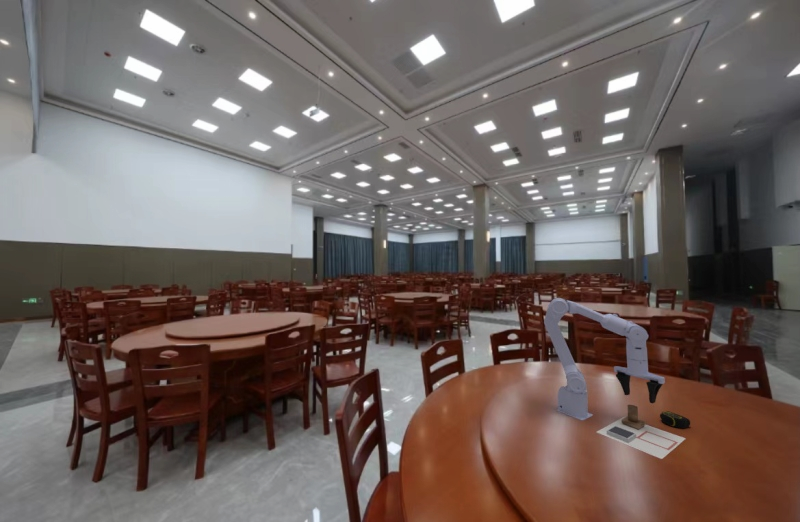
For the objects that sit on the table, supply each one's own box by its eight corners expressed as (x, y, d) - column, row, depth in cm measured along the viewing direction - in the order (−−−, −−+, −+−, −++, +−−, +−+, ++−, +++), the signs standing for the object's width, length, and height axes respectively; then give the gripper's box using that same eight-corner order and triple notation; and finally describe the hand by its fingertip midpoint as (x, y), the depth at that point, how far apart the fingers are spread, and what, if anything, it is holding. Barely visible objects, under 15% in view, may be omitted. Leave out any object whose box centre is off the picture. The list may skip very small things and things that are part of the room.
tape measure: (692, 429, 101) (691, 417, 101) (679, 431, 99) (678, 420, 99) (668, 419, 108) (668, 409, 108) (656, 422, 106) (655, 411, 106)
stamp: (621, 424, 103) (621, 405, 103) (627, 420, 106) (627, 402, 106) (638, 430, 99) (638, 410, 99) (644, 426, 101) (644, 407, 102)
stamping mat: (596, 433, 97) (595, 427, 97) (623, 417, 108) (623, 413, 108) (661, 460, 83) (661, 454, 83) (685, 439, 94) (685, 434, 94)
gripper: (668, 362, 98) (671, 404, 97) (620, 353, 111) (623, 389, 111) (657, 365, 95) (660, 408, 94) (609, 355, 109) (611, 392, 108)
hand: (639, 398), depth 102 cm, fingers open, 7 cm apart
